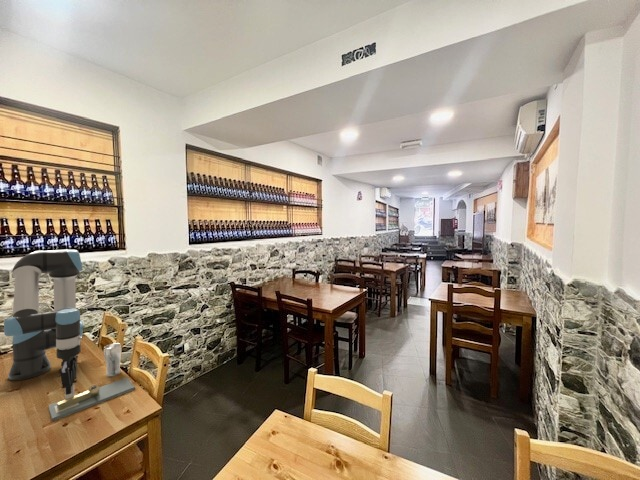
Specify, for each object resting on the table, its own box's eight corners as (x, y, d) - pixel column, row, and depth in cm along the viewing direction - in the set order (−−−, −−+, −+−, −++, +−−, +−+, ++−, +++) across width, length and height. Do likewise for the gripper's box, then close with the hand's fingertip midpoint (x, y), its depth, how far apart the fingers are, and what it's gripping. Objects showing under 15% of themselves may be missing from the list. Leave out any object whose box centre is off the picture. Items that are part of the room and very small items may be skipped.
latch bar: (100, 393, 121) (100, 385, 121) (59, 411, 110) (59, 402, 109) (97, 391, 123) (97, 383, 123) (56, 407, 112) (56, 399, 111)
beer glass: (112, 378, 137) (111, 349, 136) (101, 376, 138) (100, 347, 137) (125, 371, 144) (124, 343, 143) (114, 369, 145) (113, 342, 144)
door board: (48, 407, 114) (48, 404, 114) (127, 379, 135) (127, 377, 135) (52, 421, 106) (51, 418, 106) (134, 389, 128) (134, 386, 128)
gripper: (74, 350, 110) (75, 406, 112) (85, 338, 122) (85, 389, 123) (50, 354, 107) (51, 411, 108) (63, 341, 118) (64, 393, 120)
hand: (69, 399), depth 116 cm, fingers closed
